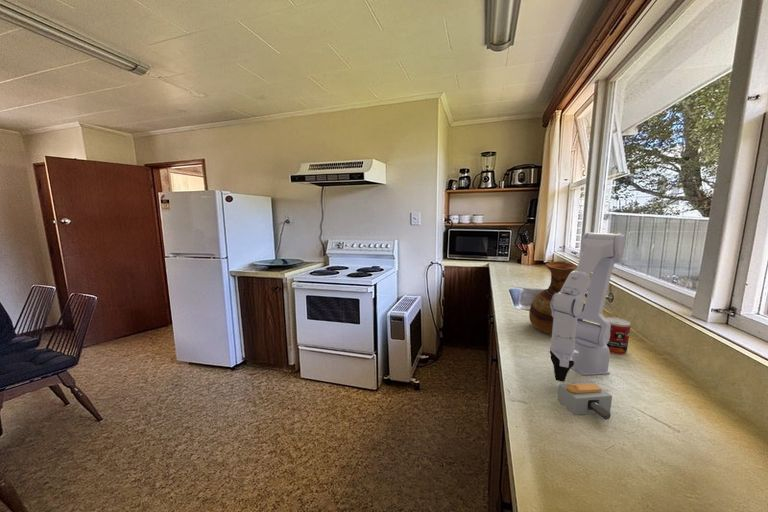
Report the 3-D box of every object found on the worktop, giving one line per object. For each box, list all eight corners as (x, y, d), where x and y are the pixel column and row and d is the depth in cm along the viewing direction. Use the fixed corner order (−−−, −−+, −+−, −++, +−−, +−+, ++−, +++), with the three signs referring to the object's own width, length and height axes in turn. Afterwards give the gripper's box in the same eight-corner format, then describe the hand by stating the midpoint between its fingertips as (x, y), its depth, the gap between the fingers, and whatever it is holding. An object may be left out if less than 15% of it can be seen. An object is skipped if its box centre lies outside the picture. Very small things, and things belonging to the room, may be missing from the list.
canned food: (604, 352, 106) (608, 323, 104) (598, 343, 113) (601, 316, 112) (630, 356, 103) (634, 326, 102) (622, 346, 111) (625, 318, 109)
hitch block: (591, 397, 80) (593, 382, 80) (610, 412, 75) (612, 395, 74) (557, 399, 79) (558, 384, 79) (573, 415, 74) (575, 398, 73)
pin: (566, 394, 81) (567, 383, 80) (577, 393, 81) (578, 382, 80) (599, 422, 70) (601, 410, 69) (612, 421, 70) (614, 409, 70)
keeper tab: (593, 386, 78) (593, 383, 78) (601, 391, 75) (601, 389, 75) (564, 387, 77) (564, 384, 77) (571, 393, 74) (571, 390, 74)
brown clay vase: (524, 332, 123) (530, 262, 119) (532, 318, 140) (537, 256, 135) (580, 344, 112) (588, 267, 108) (581, 327, 129) (588, 260, 124)
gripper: (584, 347, 76) (579, 396, 78) (576, 327, 88) (572, 369, 90) (553, 342, 79) (548, 388, 81) (549, 323, 91) (546, 364, 94)
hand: (559, 378), depth 86 cm, fingers closed
